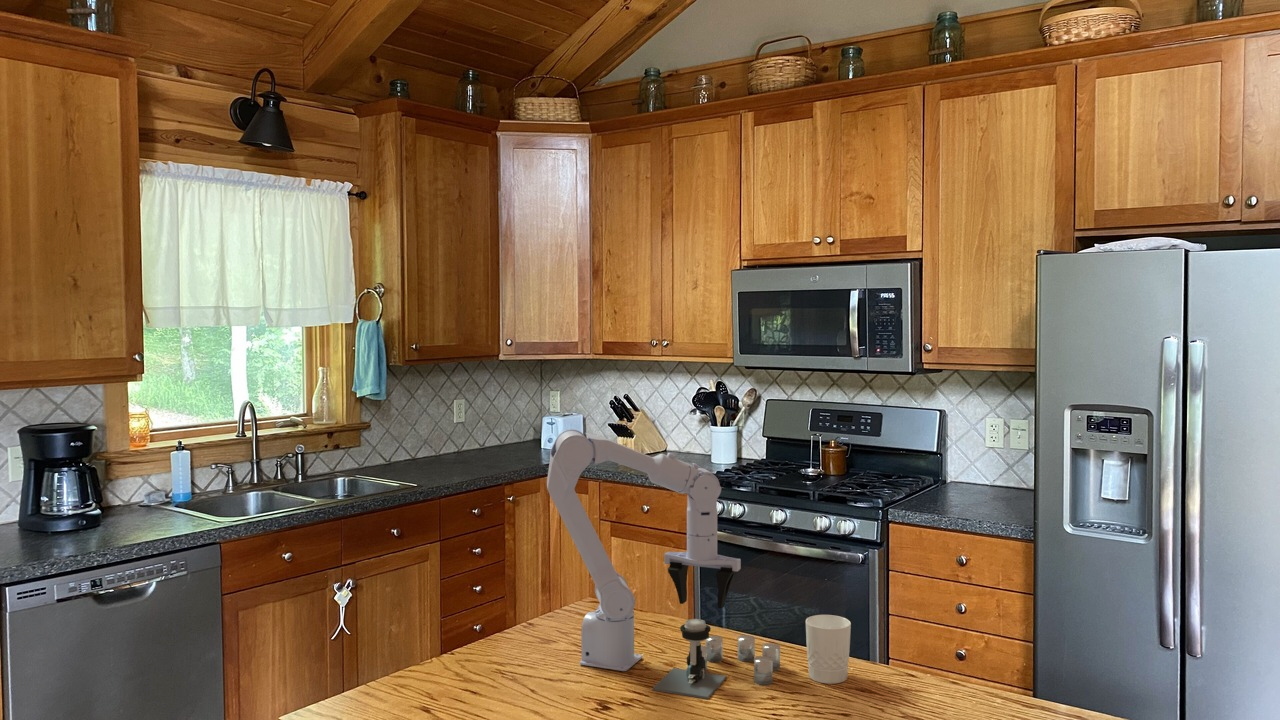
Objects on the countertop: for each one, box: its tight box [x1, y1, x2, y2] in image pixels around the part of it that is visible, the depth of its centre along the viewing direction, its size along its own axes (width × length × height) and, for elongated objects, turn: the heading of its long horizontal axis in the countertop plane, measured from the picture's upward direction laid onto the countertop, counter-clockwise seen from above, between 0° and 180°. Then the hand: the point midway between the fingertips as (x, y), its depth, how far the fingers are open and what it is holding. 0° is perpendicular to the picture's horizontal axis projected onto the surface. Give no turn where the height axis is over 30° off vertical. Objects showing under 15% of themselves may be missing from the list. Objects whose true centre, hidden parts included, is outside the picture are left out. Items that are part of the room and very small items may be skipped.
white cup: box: [805, 614, 852, 685], centre depth 169 cm, size 8×8×10 cm
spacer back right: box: [761, 642, 781, 672], centre depth 174 cm, size 3×3×4 cm
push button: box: [679, 618, 712, 684], centre depth 167 cm, size 7×5×10 cm
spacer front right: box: [753, 655, 774, 686], centre depth 167 cm, size 3×3×4 cm
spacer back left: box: [704, 635, 724, 664], centre depth 178 cm, size 3×3×4 cm
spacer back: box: [737, 634, 756, 663], centre depth 178 cm, size 3×3×4 cm
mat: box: [652, 667, 727, 700], centre depth 166 cm, size 10×10×1 cm
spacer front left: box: [688, 644, 708, 673], centre depth 173 cm, size 3×3×4 cm
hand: (702, 604), depth 179 cm, fingers open, 7 cm apart
